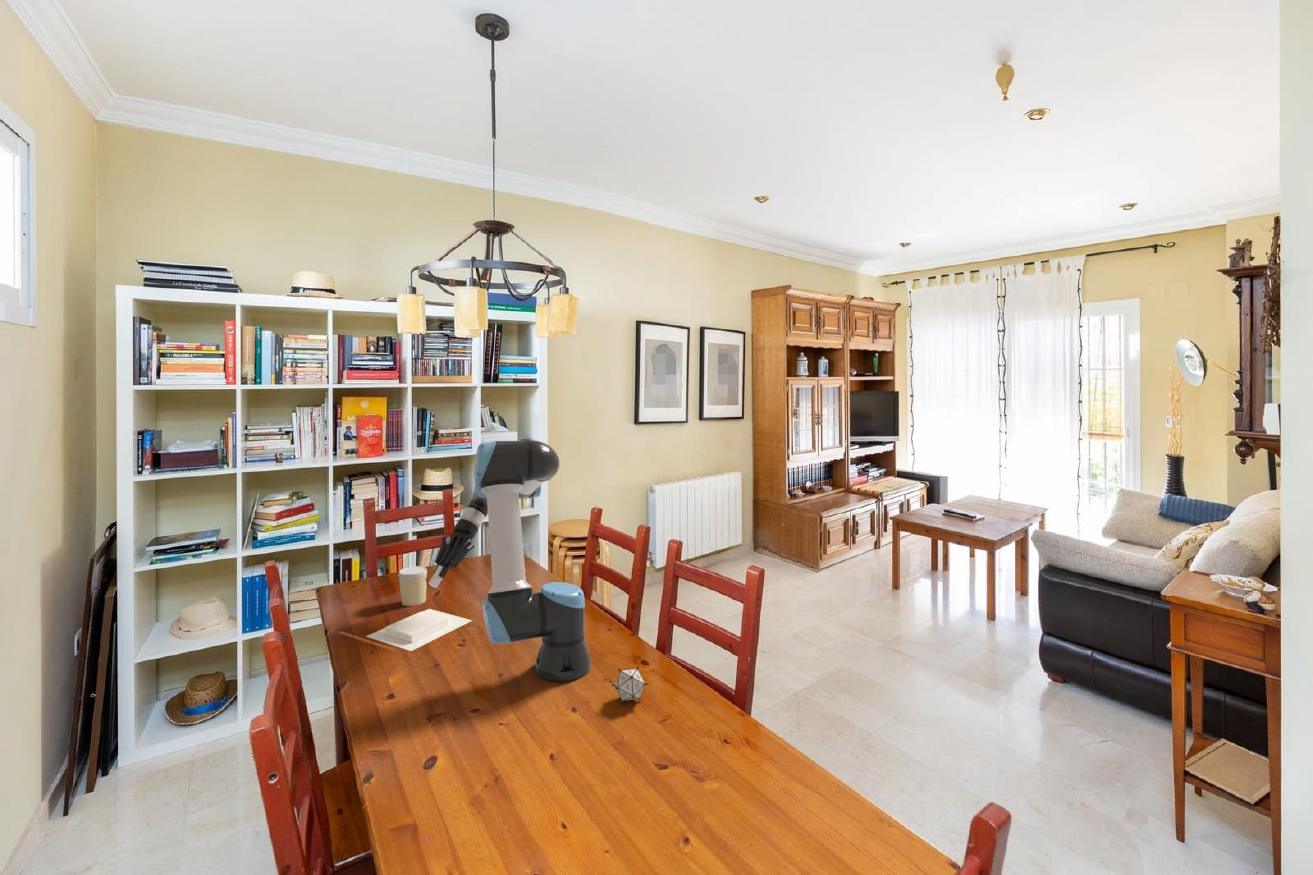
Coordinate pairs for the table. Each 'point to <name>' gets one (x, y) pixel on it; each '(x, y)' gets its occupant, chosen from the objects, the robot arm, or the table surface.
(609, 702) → the table surface
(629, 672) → the game die
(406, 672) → the table surface
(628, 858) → the table surface
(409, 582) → the coffee cup
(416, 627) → the tile
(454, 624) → the mat
